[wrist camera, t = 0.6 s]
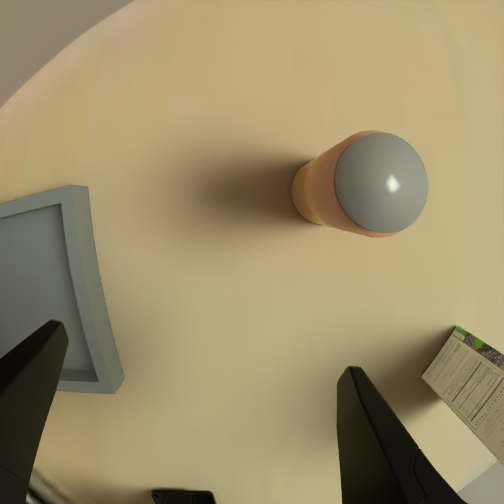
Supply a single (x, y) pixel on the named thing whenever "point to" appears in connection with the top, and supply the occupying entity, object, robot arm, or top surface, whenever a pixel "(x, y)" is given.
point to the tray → (57, 285)
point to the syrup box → (472, 386)
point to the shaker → (363, 185)
